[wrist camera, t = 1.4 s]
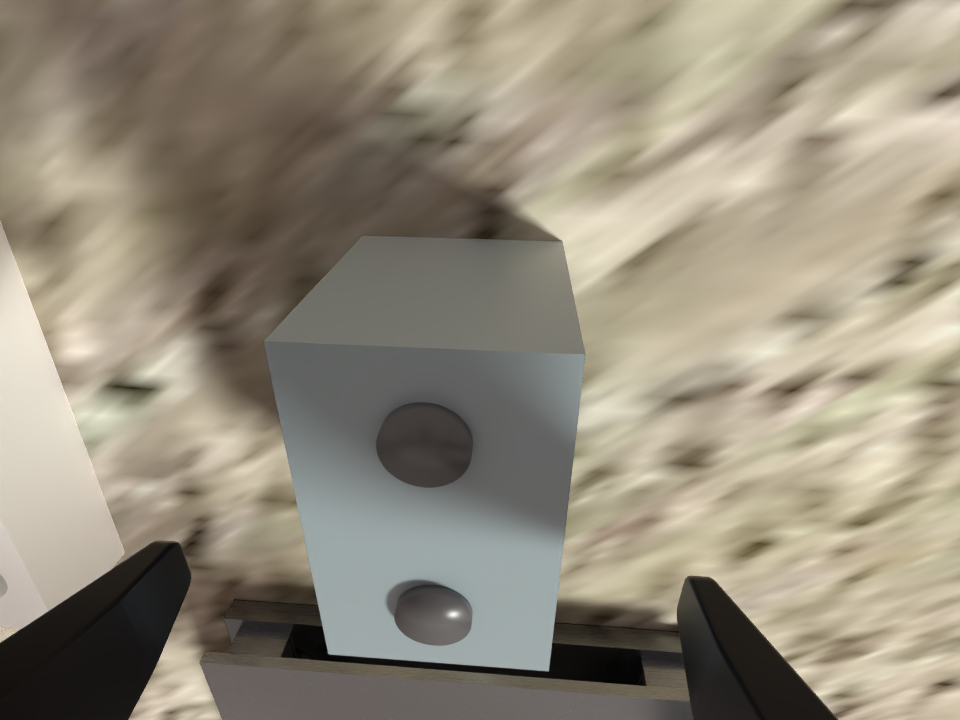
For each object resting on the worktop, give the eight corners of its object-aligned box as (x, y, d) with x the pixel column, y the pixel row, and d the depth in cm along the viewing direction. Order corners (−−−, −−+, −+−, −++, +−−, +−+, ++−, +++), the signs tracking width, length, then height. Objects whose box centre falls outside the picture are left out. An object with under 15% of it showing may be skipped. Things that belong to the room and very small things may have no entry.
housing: (561, 240, 13) (586, 362, 8) (541, 486, 17) (549, 682, 12) (363, 234, 14) (256, 348, 8) (387, 477, 18) (324, 664, 12)
